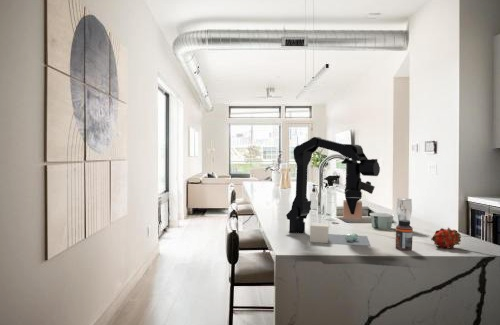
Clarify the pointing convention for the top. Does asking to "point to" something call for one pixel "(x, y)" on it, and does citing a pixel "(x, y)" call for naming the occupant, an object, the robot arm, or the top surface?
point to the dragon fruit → (446, 238)
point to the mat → (341, 240)
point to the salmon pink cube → (356, 214)
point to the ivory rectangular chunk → (319, 232)
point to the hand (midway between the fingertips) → (352, 213)
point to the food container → (381, 220)
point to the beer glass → (404, 209)
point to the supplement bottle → (404, 235)
